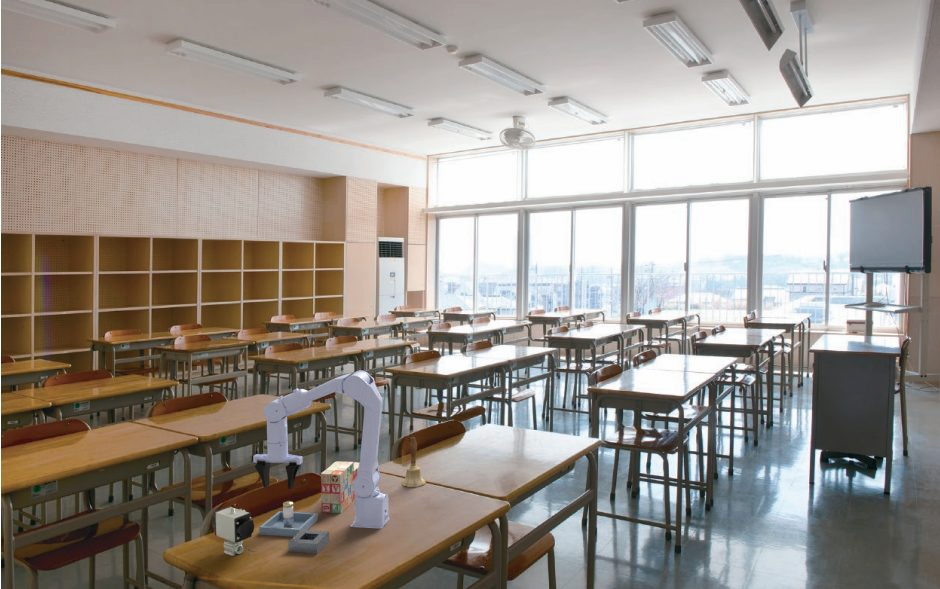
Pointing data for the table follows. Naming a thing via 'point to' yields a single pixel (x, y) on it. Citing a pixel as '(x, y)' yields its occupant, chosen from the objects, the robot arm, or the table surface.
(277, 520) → the tray
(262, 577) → the table surface
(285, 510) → the small glass bottle
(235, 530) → the pneumatic valve
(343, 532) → the table surface
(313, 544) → the block
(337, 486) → the stack of blocks
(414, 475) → the hand bell
